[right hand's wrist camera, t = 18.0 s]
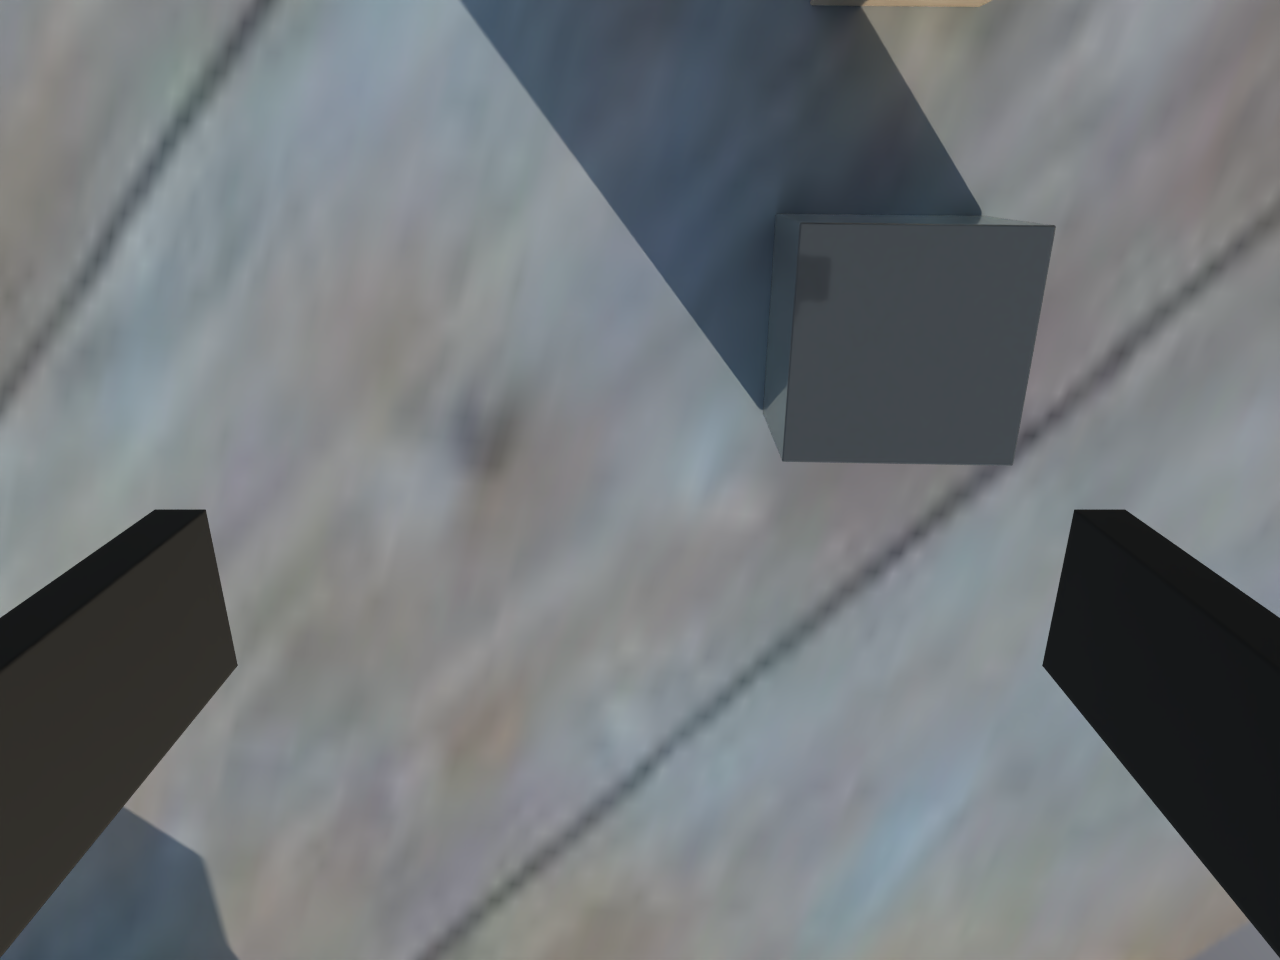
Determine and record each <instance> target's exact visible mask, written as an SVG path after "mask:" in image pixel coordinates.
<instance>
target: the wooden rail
mask: <svg viewBox="0 0 1280 960" xmlns="http://www.w3.org/2000/svg"><path fill="white" fill-rule="evenodd" d="M990 1H992V0H811V2H810V3H811V5H829V6H959V7H980V6H982V5H984V4H986V3H988V2H990Z"/></svg>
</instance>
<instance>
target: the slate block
mask: <svg viewBox="0 0 1280 960" xmlns="http://www.w3.org/2000/svg"><path fill="white" fill-rule="evenodd" d="M1055 228H1056V226H1055V225H1049V224H1041V223H1034V222H1027V221H1019V220H1012V219H1004V218H997V217H990V216H951V215H860V214H776V219H775V234H774V250H773V265H772V281H771V296H770V312H769V327H768V342H767V358H766V373H765V389H764V404H763V415H764V418H765V420H766V422H767V425H768V427H769V430H770V432H771V435H772V437H773V440H774V442H775V444H776V447H777V449H778V452H779V454H780V457H781V459H782V461H783V462H830V463H886V464H942V465H998V466H1012V465H1013V461H1014V456H1015V450H1016V444H1017V439H1018V433H1019V428H1020V422H1021V417H1022V411H1023V406H1024V400H1025V395H1026V389H1027V384H1028V378H1029V372H1030V367H1031V361H1032V356H1033V350H1034V345H1035V339H1036V334H1037V328H1038V323H1039V317H1040V312H1041V306H1042V300H1043V295H1044V289H1045V284H1046V278H1047V273H1048V267H1049V262H1050V256H1051V251H1052V245H1053V240H1054V234H1055Z"/></svg>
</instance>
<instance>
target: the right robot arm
mask: <svg viewBox="0 0 1280 960" xmlns="http://www.w3.org/2000/svg"><path fill="white" fill-rule="evenodd" d="M1042 666H1043V667H1044V668H1045V669H1046V671H1047V672H1048V673H1049V674H1050V675H1051V677H1052V678H1053V679H1054V680H1055V682H1056V683H1057V684H1058V685H1059V687H1060V688H1061V689H1062V690H1063V691H1064V693H1065V694H1066V695H1067V696H1068V698H1069V699H1070V700H1071V701H1072V703H1073V704H1074V705H1075V706H1076V707H1077V709H1078V710H1079V711H1080V712H1081V714H1082V715H1083V716H1084V717H1085V719H1086V720H1087V721H1088V722H1089V723H1090V725H1091V726H1092V727H1093V728H1094V730H1095V731H1096V732H1097V733H1098V735H1099V736H1100V737H1101V738H1102V739H1103V741H1104V742H1105V743H1106V744H1107V746H1108V747H1109V748H1110V749H1111V751H1112V752H1113V753H1114V754H1115V756H1116V757H1117V758H1118V759H1119V760H1120V762H1121V763H1122V764H1123V765H1124V767H1125V768H1126V769H1127V770H1128V772H1129V773H1130V774H1131V775H1132V776H1133V778H1134V779H1135V780H1136V781H1137V783H1138V784H1139V785H1140V786H1141V788H1142V789H1143V790H1144V791H1145V792H1146V794H1147V795H1148V796H1149V797H1150V799H1151V800H1152V801H1153V802H1154V804H1155V805H1156V806H1157V807H1158V808H1159V810H1160V811H1161V812H1162V813H1163V815H1164V816H1165V817H1166V818H1167V820H1168V821H1169V822H1170V823H1171V824H1172V826H1173V827H1174V828H1175V829H1176V831H1177V832H1178V833H1179V834H1180V836H1181V837H1182V838H1183V839H1184V840H1185V842H1186V843H1187V844H1188V845H1189V847H1190V848H1191V849H1192V850H1193V852H1194V853H1195V854H1196V855H1197V856H1198V858H1199V859H1200V860H1201V861H1202V863H1203V864H1204V865H1205V866H1206V868H1207V869H1208V870H1209V871H1210V873H1211V874H1212V875H1213V876H1214V877H1215V879H1216V880H1217V881H1218V882H1219V884H1220V885H1221V886H1222V887H1223V889H1224V890H1225V891H1226V892H1227V893H1228V895H1229V896H1230V897H1231V898H1232V900H1233V901H1234V902H1235V903H1236V905H1237V906H1238V907H1239V908H1240V909H1241V911H1242V912H1243V913H1244V914H1245V916H1246V917H1247V918H1248V919H1249V921H1250V922H1251V923H1252V924H1253V925H1254V927H1255V928H1256V929H1257V930H1258V931H1259V933H1260V934H1261V935H1262V937H1263V938H1264V939H1265V940H1266V941H1267V943H1268V944H1269V945H1270V946H1271V948H1272V949H1273V950H1274V951H1275V953H1276V954H1277V955H1278V956H1279V957H1280V618H1279V617H1278V616H1276V615H1275V614H1273V613H1272V612H1270V611H1269V610H1268V609H1266V608H1265V607H1263V606H1262V605H1260V604H1259V603H1258V602H1256V601H1255V600H1253V599H1252V598H1250V597H1249V596H1248V595H1246V594H1245V593H1243V592H1242V591H1240V590H1239V589H1238V588H1236V587H1235V586H1233V585H1232V584H1230V583H1229V582H1228V581H1226V580H1225V579H1223V578H1222V577H1220V576H1219V575H1218V574H1216V573H1215V572H1213V571H1212V570H1210V569H1209V568H1208V567H1206V566H1205V565H1203V564H1202V563H1201V562H1199V561H1198V560H1196V559H1195V558H1193V557H1192V556H1191V555H1189V554H1188V553H1186V552H1185V551H1183V550H1182V549H1181V548H1179V547H1178V546H1176V545H1175V544H1173V543H1172V542H1171V541H1169V540H1168V539H1166V538H1165V537H1163V536H1162V535H1161V534H1159V533H1158V532H1156V531H1155V530H1153V529H1152V528H1151V527H1149V526H1148V525H1146V524H1145V523H1143V522H1142V521H1141V520H1139V519H1138V518H1136V517H1135V516H1133V515H1132V514H1131V513H1129V512H1128V511H1126V510H1074V514H1073V519H1072V524H1071V529H1070V534H1069V538H1068V543H1067V548H1066V553H1065V558H1064V563H1063V568H1062V573H1061V578H1060V582H1059V587H1058V592H1057V597H1056V602H1055V607H1054V612H1053V617H1052V621H1051V626H1050V631H1049V636H1048V641H1047V646H1046V651H1045V656H1044V661H1043V665H1042ZM236 667H237V661H236V656H235V651H234V646H233V641H232V636H231V631H230V626H229V622H228V617H227V612H226V607H225V602H224V597H223V592H222V587H221V582H220V578H219V573H218V568H217V563H216V558H215V553H214V548H213V543H212V538H211V534H210V529H209V524H208V519H207V514H206V510H154V511H152V512H151V513H149V514H148V515H147V516H145V517H144V518H142V519H141V520H139V521H138V522H137V523H135V524H134V525H132V526H131V527H129V528H128V529H127V530H125V531H124V532H122V533H121V534H119V535H118V536H117V537H115V538H114V539H112V540H111V541H109V542H108V543H107V544H105V545H104V546H102V547H101V548H99V549H98V550H97V551H95V552H94V553H92V554H91V555H89V556H88V557H87V558H85V559H84V560H82V561H81V562H79V563H78V564H77V565H75V566H74V567H72V568H71V569H69V570H68V571H67V572H65V573H64V574H62V575H61V576H60V577H58V578H57V579H55V580H54V581H52V582H51V583H50V584H48V585H47V586H45V587H44V588H42V589H41V590H40V591H38V592H37V593H35V594H34V595H32V596H31V597H30V598H28V599H27V600H25V601H24V602H22V603H21V604H20V605H18V606H17V607H15V608H14V609H12V610H11V611H10V612H8V613H7V614H5V615H4V616H2V617H1V618H0V957H1V956H2V955H3V954H4V953H5V951H6V950H7V949H8V948H9V946H10V945H11V944H12V943H13V941H14V940H15V939H16V938H17V937H18V935H19V934H20V933H21V932H22V930H23V929H24V928H25V927H26V925H27V924H28V923H29V922H30V921H31V919H32V918H33V917H34V916H35V914H36V913H37V912H38V911H39V909H40V908H41V907H42V906H43V905H44V903H45V902H46V901H47V900H48V898H49V897H50V896H51V895H52V893H53V892H54V891H55V890H56V889H57V887H58V886H59V885H60V884H61V882H62V881H63V880H64V879H65V877H66V876H67V875H68V874H69V873H70V871H71V870H72V869H73V868H74V866H75V865H76V864H77V863H78V861H79V860H80V859H81V858H82V856H83V855H84V854H85V853H86V852H87V850H88V849H89V848H90V847H91V845H92V844H93V843H94V842H95V840H96V839H97V838H98V837H99V836H100V834H101V833H102V832H103V831H104V829H105V828H106V827H107V826H108V824H109V823H110V822H111V821H112V820H113V818H114V817H115V816H116V815H117V813H118V812H119V811H120V810H121V808H122V807H123V806H124V805H125V804H126V802H127V801H128V800H129V799H130V797H131V796H132V795H133V794H134V792H135V791H136V790H137V789H138V788H139V786H140V785H141V784H142V783H143V781H144V780H145V779H146V778H147V776H148V775H149V774H150V773H151V772H152V770H153V769H154V768H155V767H156V765H157V764H158V763H159V762H160V760H161V759H162V758H163V757H164V756H165V754H166V753H167V752H168V751H169V749H170V748H171V747H172V746H173V744H174V743H175V742H176V741H177V739H178V738H179V737H180V736H181V735H182V733H183V732H184V731H185V730H186V728H187V727H188V726H189V725H190V723H191V722H192V721H193V720H194V719H195V717H196V716H197V715H198V714H199V712H200V711H201V710H202V709H203V707H204V706H205V705H206V704H207V703H208V701H209V700H210V699H211V698H212V696H213V695H214V694H215V693H216V691H217V690H218V689H219V688H220V687H221V685H222V684H223V683H224V682H225V680H226V679H227V678H228V677H229V675H230V674H231V673H232V672H233V671H234V669H235V668H236Z"/></svg>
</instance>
